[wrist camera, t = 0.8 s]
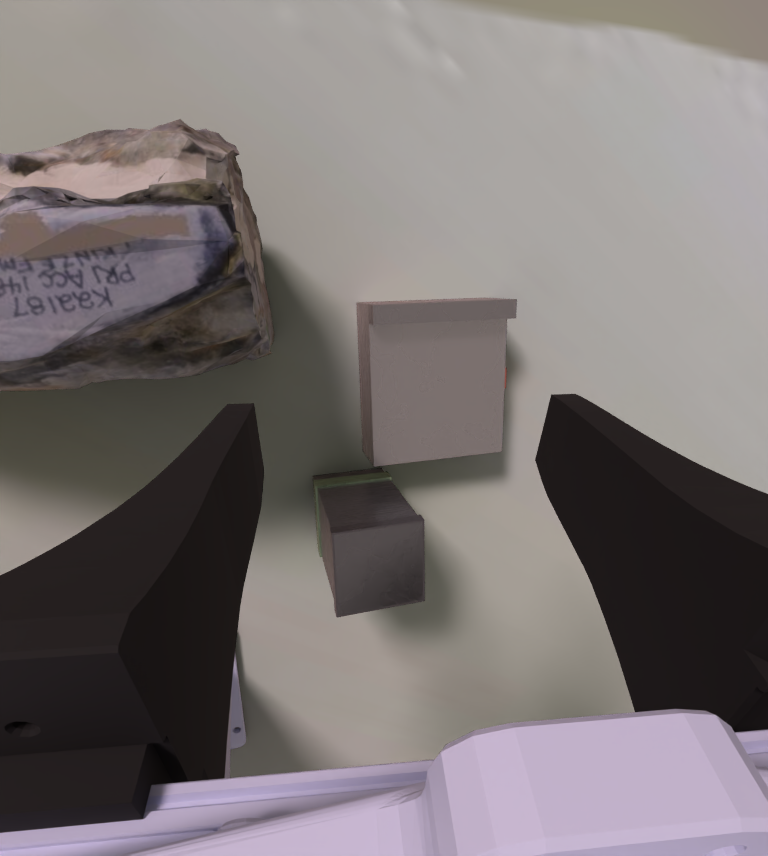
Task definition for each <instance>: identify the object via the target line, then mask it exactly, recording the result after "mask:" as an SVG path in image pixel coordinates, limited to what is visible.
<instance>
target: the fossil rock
mask: <svg viewBox="0 0 768 856" xmlns="http://www.w3.org/2000/svg"><path fill="white" fill-rule="evenodd" d="M237 155H239V152H238V150H237V148H236V146H235V145H233V144H230V143H228V142H226V141H225V140H224V139H223V138H222V137H221V136H220V135H219V133H215V132H211V131H208V130H207V129H202V130H194V129H192V128H191V127H189V126H188V125H186V124H185V123H184V122H183V121H182V120H181V119H179V120H176V121H173V122H170V123H167V124H164V125H159V126H157V127H155V128H153V129H151V130H144V129H131V128H128V129H126V130H104V131H99V132H93V133H89V134H87V135H84V136H82V137H80V138H77V139H74V140H71V141H69V142H66V143H63V144H60V145H57V146H54V147H50V148H46V149H42V150H39V151H35V152H25V153H14V154H1V153H0V391H26V390H52V389H79V388H81V387H83V386H85V385H89V384H90V383H91V382H97V383H100V382H104V381H107V380H117V379H134V378H146V379H169V378H178V377H186V376H193V375H198V374H201V373H203V372H206V371H209V370H212V369H216V368H219V367H222V366H225V365H230V364H235V363H237V362H239V361H242V360H244V359H249V360H254V359H257V358H260V357H262V356H265V355H268V354H271V353H272V352H271V351H270V347H271V345H272V344H273V341H274V329H273V323H272V316H271V310H270V303H269V298H268V293H267V289H266V284H265V278H264V265H263V262H262V258H261V253H262V243H261V238H260V233H259V229H258V226H257V219H256V215H255V214H254V212H253V209H252V206H251V203H250V200H249V197H248V195H247V194H246V192H245V190H244V188H243V180H242V173H241V170H240V168H239V165H238V163H237V161H236V157H235V156H237Z"/></svg>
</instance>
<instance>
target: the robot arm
mask: <svg viewBox="0 0 768 856" xmlns="http://www.w3.org/2000/svg"><path fill="white" fill-rule="evenodd" d="M535 461H536V464H537V467H538V470H539V473H540V476H541V480H542V482H543V485H544V488H545V491H546V494H547V496H548V498H549V500H550V502H551V504H552V506H553V508H554V510H555V512H556V514H557V516H558V518H559V520H560V522H561V524H562V526H563V528H564V529H565V531H566V533H567V535H568V537H569V539H570V541H571V543H572V545H573V547H574V549H575V551H576V553H577V555H578V557H579V559H580V560H581V562H582V564H583V566H584V568H585V571H586V573H587V575H588V577H589V579H590V581H591V584H592V586H593V589H594V592H595V594H596V597H597V599H598V602H599V605H600V607H601V610H602V613H603V615H604V618H605V621H606V624H607V626H608V629H609V632H610V635H611V638H612V641H613V644H614V647H615V649H616V652H617V655H618V658H619V661H620V664H621V668H622V671H623V674H624V677H625V681H626V684H627V687H628V690H629V693H630V697H631V700H632V703H633V707H634V710H635V712H633V713H621V714H609V715H598V716H586V717H574V718H562V719H551V720H539V721H527V722H515V723H508V724H503V725H498V726H493V727H488V728H484V729H479V730H474V731H472V732H470V733H468V734H466V735H464V736H462V737H460V738H458V739H456V740H454V741H452V742H450V743H448V744H446V745H445V746H444V748H443V749H442V751H441V752H440V753H439V755H438V756H437V757H436V759H434V760H423V761H412V762H401V763H390V764H379V765H368V766H356V767H345V768H334V769H323V770H312V771H301V772H290V773H279V774H268V775H257V776H246V777H234V778H230V755H231V749H234V748H239V747H241V746H243V745H244V744H245V743H246V731H245V723H244V716H243V708H242V700H241V692H240V685H239V677H238V669H237V661H236V654H235V648H236V639H237V630H238V621H239V612H240V604H241V598H242V592H243V587H244V582H245V578H246V573H247V569H248V564H249V560H250V555H251V551H252V546H253V542H254V537H255V533H256V528H257V524H258V519H259V514H260V510H261V502H262V492H263V479H264V467H263V460H262V453H261V447H260V440H259V434H258V427H257V420H256V414H255V407H254V404H227V405H226V406H225V407H224V408H223V410H222V411H221V412H220V413H219V414H218V415H217V416H216V417H215V418H214V419H213V420H212V421H211V423H210V424H209V425H208V426H207V427H206V428H205V429H204V430H203V431H202V432H201V434H200V435H199V436H198V437H197V438H196V439H195V440H194V441H193V442H192V443H191V444H190V445H189V446H188V447H187V448H186V449H185V450H184V451H183V452H182V453H181V454H180V455H179V456H178V457H177V458H176V459H175V460H174V461H173V462H172V463H171V464H170V465H169V466H168V467H167V468H166V469H165V470H163V471H162V472H161V473H160V474H159V475H158V476H157V477H156V478H155V479H154V480H152V481H151V482H150V483H149V484H148V485H146V486H145V487H144V488H143V489H141V490H140V491H139V492H138V493H136V494H135V495H134V496H132V497H131V498H130V499H128V500H127V501H126V502H124V503H123V504H122V505H120V506H119V507H118V508H116V509H115V510H113V511H112V512H110V513H109V514H107V515H106V516H104V517H103V518H101V519H100V520H98V521H97V522H95V523H94V524H92V525H90V526H89V527H87V528H86V529H84V530H83V531H81V532H80V533H78V534H77V535H75V536H73V537H72V538H70V539H68V540H67V541H65V542H63V543H61V544H60V545H58V546H56V547H54V548H53V549H51V550H49V551H47V552H45V553H43V554H42V555H40V556H38V557H36V558H34V559H32V560H30V561H29V562H27V563H25V564H23V565H21V566H19V567H17V568H15V569H13V570H11V571H9V572H7V573H5V574H3V575H0V856H768V494H766V493H764V492H761V491H758V490H756V489H753V488H751V487H748V486H746V485H744V484H741V483H739V482H736V481H734V480H732V479H730V478H727V477H725V476H723V475H721V474H719V473H716V472H714V471H712V470H710V469H708V468H706V467H703V466H701V465H699V464H697V463H695V462H693V461H691V460H689V459H688V458H686V457H684V456H682V455H680V454H678V453H676V452H675V451H673V450H671V449H669V448H667V447H665V446H663V445H662V444H660V443H658V442H657V441H655V440H653V439H651V438H650V437H648V436H646V435H644V434H643V433H641V432H639V431H638V430H636V429H634V428H633V427H631V426H630V425H628V424H626V423H625V422H623V421H621V420H620V419H618V418H616V417H615V416H613V415H612V414H610V413H608V412H607V411H605V410H603V409H602V408H600V407H598V406H597V405H595V404H593V403H592V402H590V401H588V400H586V399H584V398H583V397H581V396H578V395H576V394H559V395H551V398H550V402H549V406H548V411H547V415H546V419H545V423H544V427H543V431H542V435H541V439H540V443H539V447H538V451H537V455H536V459H535ZM236 727H240V728H238V729H235V728H236Z"/></svg>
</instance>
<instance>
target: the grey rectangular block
mask: <svg viewBox="0 0 768 856" xmlns="http://www.w3.org/2000/svg"><path fill="white" fill-rule="evenodd" d="M313 487H314V501H315V515H316V529H317V544H318V551H319V555H320V557H322V558H323V562H324V566H325V569H326V573H327V576H328V580H329V583H330V587H331V590H332V594H333V597H334V607H335V613H336V617H341V616H347V615H352V614H357V613H363V612H368V611H373V610H379V609H384V608H390V607H395V606H400V605H406V604H411V603H416V602H422V601H425V564H424V519H423V518H422V516H421V515H417V514H416V513H415V512H414V510H413V509H412V508H411V506H410V505H409V504H408V502H407V501H406V500H405V498H404V497H403V496H402V494H401V493H400V492H399V490H398V489H397V488H396V486H395V485H394V484H393V482H392V477H391V476H390V474H389V473H388V472H384V470H383V469H382V468H376V469H367V470H359V471H350V472H342V473H333V474H325V475H317V476H313Z"/></svg>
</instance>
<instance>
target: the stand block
mask: <svg viewBox="0 0 768 856" xmlns="http://www.w3.org/2000/svg"><path fill="white" fill-rule="evenodd" d="M516 306H517V299H500V298H464V299H437V300H411V301H385V302H358V303H357V325H358V349H359V374H360V398H361V422H362V447H363V452H364V453H365V455H366V456H367V458H368V459H369V460H370V462H371V463H372V465H373V466H374V467H375V466H384V465H392V464H401V463H409V462H418V461H426V460H435V459H443V458H452V457H460V456H469V455H478V454H486V453H495V452H502V437H503V411H504V388H506V373H507V368H506V367H505V360H506V334H507V319H510V318H516Z"/></svg>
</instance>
